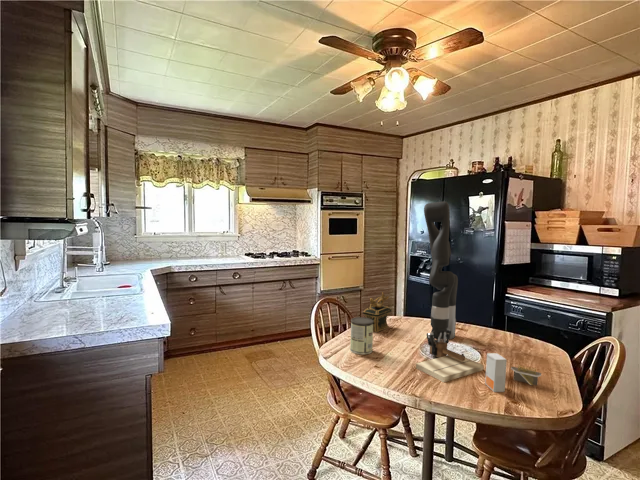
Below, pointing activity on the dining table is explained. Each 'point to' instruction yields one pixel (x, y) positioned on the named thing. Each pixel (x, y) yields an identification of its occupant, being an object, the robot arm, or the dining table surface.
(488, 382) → the skincare box
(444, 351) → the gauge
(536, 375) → the grey storage bin
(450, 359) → the board
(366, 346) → the coffee can
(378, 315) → the decorative box
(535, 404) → the dining table surface
